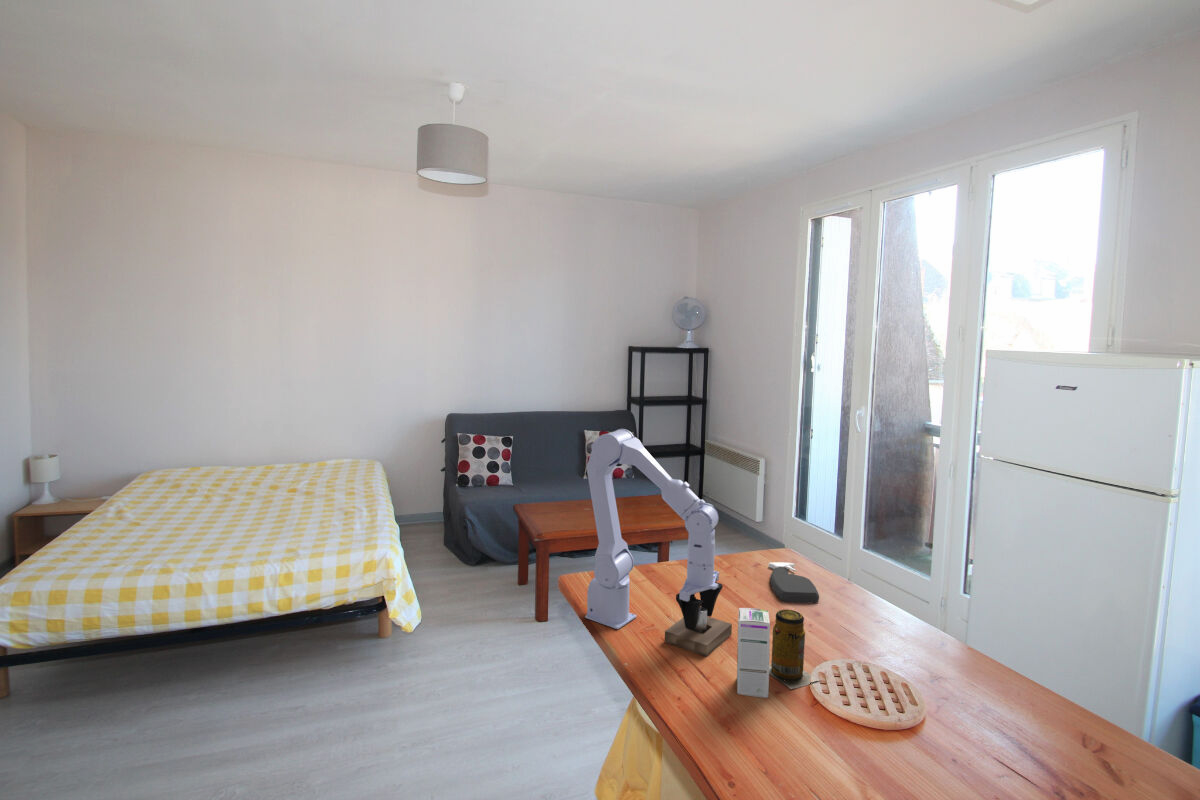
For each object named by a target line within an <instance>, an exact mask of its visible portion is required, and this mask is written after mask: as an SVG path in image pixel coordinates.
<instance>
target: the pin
mask: <svg viewBox="0 0 1200 800" xmlns="http://www.w3.org/2000/svg"><path fill="white" fill-rule="evenodd" d="M692 631H695V632H698V633H701V634H704V633H705V632H706V631H707V609H706V608H704V607H701V606H700V609H699V612H698V618H697V624H696V628H695V629H694V630H693V629H692Z"/></svg>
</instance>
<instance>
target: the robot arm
mask: <svg viewBox="0 0 1200 800" xmlns="http://www.w3.org/2000/svg"><path fill="white" fill-rule="evenodd" d="M590 447H591V452H590V455H589V458H588V462H587V465H586V473H587V479H588V485H589V491H590V496H591V497H590V498H591V503H592V509H593V514H594V521H595V528H596V533H597V540H598V545H597V548H596V550H595V551H596V552H595V554H594V558H595V563H594V564H595V565H594V568H593V576H594V577H593V578H592V579H591V580H590V582H589V584H588V587H587V593H586V595H587V598H586V599H587V601H586V602H587V605H586V607H587V608H586V609H587V611H586V612H587V613H586V614H585V616H584V618H585V619H588V620H590V621H593V622H596V623H598V624H602V625H604V626H607V627H610V628H612V629H615V630H619V629H621V628H622V627H623V626H625V625H627V624H629V623H630V622H632V621H634V619H636V618H637V614H635V613H631V612H630V584H631V583H630V581H631V579H630V572H632V571H633V569H634V566H635V559H634V557H633V555H632V553H631V551H630V550H629V547H628V546H629V545H628V543H627V542H626V541H625V540H624V539H623V537H622V531H621V526H620V525H621V524H620V519H619V513H618V507H617V501H616V494H615V488H614V483H613V482H614V481H613V478H612V477H613V476H612V472H613V470H614V469H615V468H616V466H617V465H618V464H620V465H627V466H628V465H629V466H635V468H637V470H639V471H640V472H641V473H642V474H644V475H645V476H646V477H647V478H648V479H649V480H650V481H651V482H652V483H653V484H654V485H656V487H658V488H659V489H660V491H661V498H662V500H663V501H664V502H665V503H666V504H667V505H668V506H669V507H670V508H671V509H672V510H673V511H674V512H675V513H676V514H677V515H678V516H679V517H680V518H681V519H682V521H684V526H685V530H686V531H687V533H688V540H687V562H686V563H687V564H686V565H687V567H686V579H685V581H684V583H683V584H682V585H683V586H682V588H681V589H679V593H677V594H676V595H675V601H676V602H677V604H678V606H679V608H680V610H681V614H682V618H684V623H685V627H687V628H690V629H693V630H694V629H695V628H696V624H697V618H698V612H699V609H700V607H704V608H706V609H707V616H708V617H711V618H712V615H713V612H714V609H715V605H716V602H717V599H718V597H719V595H720V593H721V592H722V590H723V584H722V583H720V582H718V581H719V580H720V572H719V571H717V570H715V555H716V554H715V553H716V552H715V551H716V539H715V537H716V529H714V528H715V527H716V526H717V525H718V523H719V513H718V510H717V509H716V508H715V507H714V505H713V504H711V503H708V502H706V501H705V500H704V499H703V498H702V499H700V497H698V495H697V494H695V492H693V490H692V489H691V488H689V487H690V486H691V485H690V484H689V483H688V482H687V481H682V479H677V478H676V479H675V478H674V479H673V477H671V476H670V474H668V472H667V471H666V470H665V469H664V468H663V467H662V466H661V464H659V462H658V461H657V460H656V459H655V458H654V457H653V456H652V455H651V453H650V452H649V451H648V450H647V449H646V448H645V447H644V445H643V443H642V442H641V440H640V439H639V438H637V437H636V436H635V435H634V434H633V433H632V432H631V431H630V430H628V429H626V428H619V429H616V430H614V431H612V432H609V433H605V434H601V435H599V436H598V437H597V438H596V439H595V440H594V442H593V443H592V444H591V445H590ZM698 593H699V597H700V599H698V598H697V597H696V594H698Z"/></svg>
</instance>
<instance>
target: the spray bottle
mask: <svg viewBox="0 0 1200 800" xmlns="http://www.w3.org/2000/svg"><path fill="white" fill-rule="evenodd" d="M795 567H796V565H795V562H794V563H793V562H782V561H781V562H779V561H777V562H774V561H773V562H768V568H770V569H773V570H772V571H771V573H770V578H769V581H770V586H771V588H772V590H773V592H774V593H775V595H776V597H778V599H779V600H780V601H782V602H784V603H796V604H797V603H798V604H799V603H801V604H816V603H818V601H819V600H820V594H819V591H818V590H817V587H816V586H815V584H814V583H813V582H812V581H811V580H810V579H809V578H807V577H805V576H803V575H797V574H793V573H789V570H790V571H793V572H797V569H795Z"/></svg>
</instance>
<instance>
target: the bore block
mask: <svg viewBox="0 0 1200 800" xmlns="http://www.w3.org/2000/svg"><path fill="white" fill-rule="evenodd" d="M732 627H733V624H732V623H730V622H727V621H724V620H720V619H717V618H713V617H712V616H711V617H709V616H707V631H706V632H705V633H704V634H701V633H698V632H695V631H692V629H690V628H687V627H685V623H684V618H683V617H682V618H680V619H679V620H678V621H677V622H676V621H675V623H674V624H672V625H671V626H670V627H668V628H667V629H665V631H664V643H666V644H670V645H671V646H675V647H678V648H680V649H683V650H686V651H689V652H692V653H695V654H697V655H699V656H700V655H701V656H703V657H706V658H707V657H709V655H710V654H711V653H713V652H714V651H715V650H716V649H717V648H718V647H719V646H721V644H723V643H724V642H725V641H726V640H727V639H729V637H731V636H732V632H733V628H732Z"/></svg>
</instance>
